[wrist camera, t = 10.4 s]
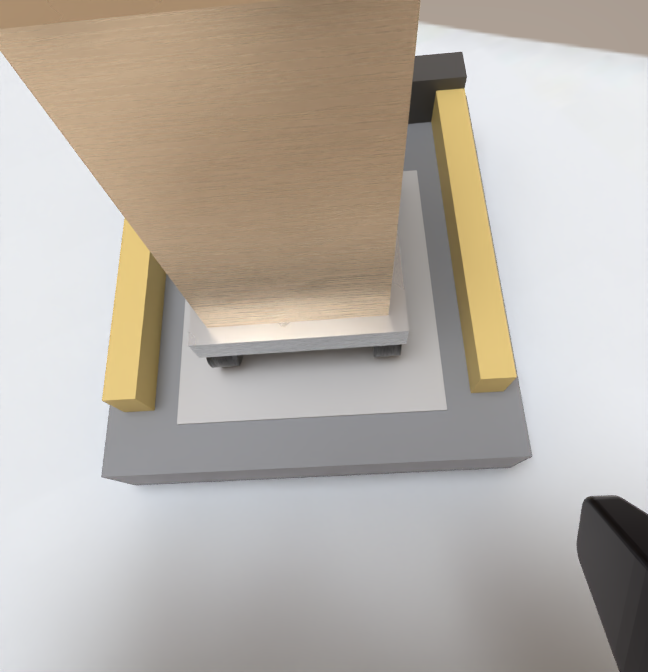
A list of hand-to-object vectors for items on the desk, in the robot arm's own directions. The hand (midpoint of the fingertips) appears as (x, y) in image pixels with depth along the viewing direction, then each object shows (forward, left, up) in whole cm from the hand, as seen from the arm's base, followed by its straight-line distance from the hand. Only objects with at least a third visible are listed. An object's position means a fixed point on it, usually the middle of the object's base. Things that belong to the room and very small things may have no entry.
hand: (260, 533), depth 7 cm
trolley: (+3, -7, -8) cm, 11 cm away
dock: (+3, -8, -11) cm, 14 cm away
